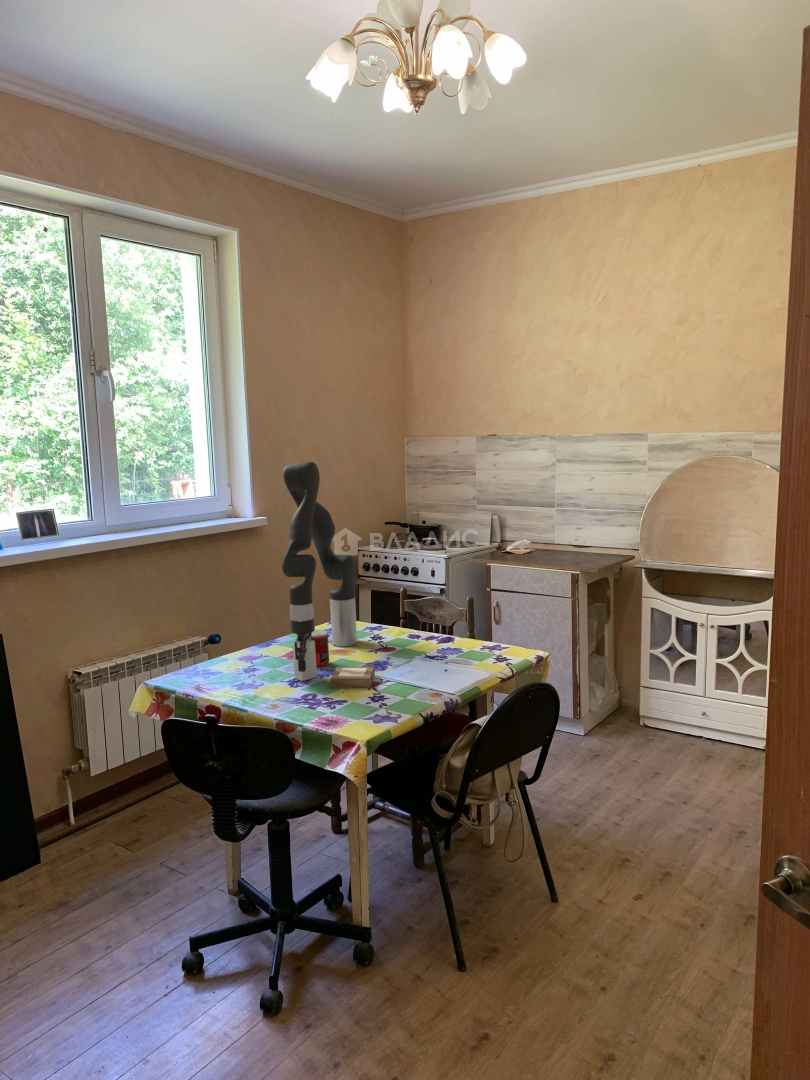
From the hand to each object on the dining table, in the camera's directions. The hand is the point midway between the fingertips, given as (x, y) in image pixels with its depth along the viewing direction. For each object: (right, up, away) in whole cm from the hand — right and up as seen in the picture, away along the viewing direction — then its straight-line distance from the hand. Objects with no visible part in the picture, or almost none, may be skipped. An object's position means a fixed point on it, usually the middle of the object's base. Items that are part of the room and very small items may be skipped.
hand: (304, 667), depth 237 cm
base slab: (+16, -4, -5) cm, 17 cm away
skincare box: (0, -4, 0) cm, 4 cm away
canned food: (+2, -2, +14) cm, 14 cm away
